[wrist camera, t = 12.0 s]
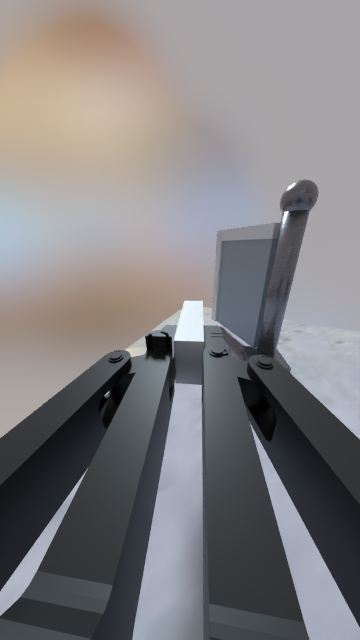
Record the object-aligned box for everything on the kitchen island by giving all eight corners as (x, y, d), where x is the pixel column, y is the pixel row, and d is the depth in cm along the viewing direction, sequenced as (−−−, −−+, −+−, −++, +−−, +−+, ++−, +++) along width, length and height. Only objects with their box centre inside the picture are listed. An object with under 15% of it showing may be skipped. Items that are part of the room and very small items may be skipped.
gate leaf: (262, 346, 27) (288, 223, 20) (252, 349, 26) (274, 222, 19) (220, 317, 37) (227, 231, 31) (211, 318, 37) (217, 230, 30)
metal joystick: (274, 353, 28) (314, 186, 19) (289, 374, 23) (350, 168, 14) (242, 351, 28) (266, 189, 20) (250, 372, 24) (286, 172, 15)
